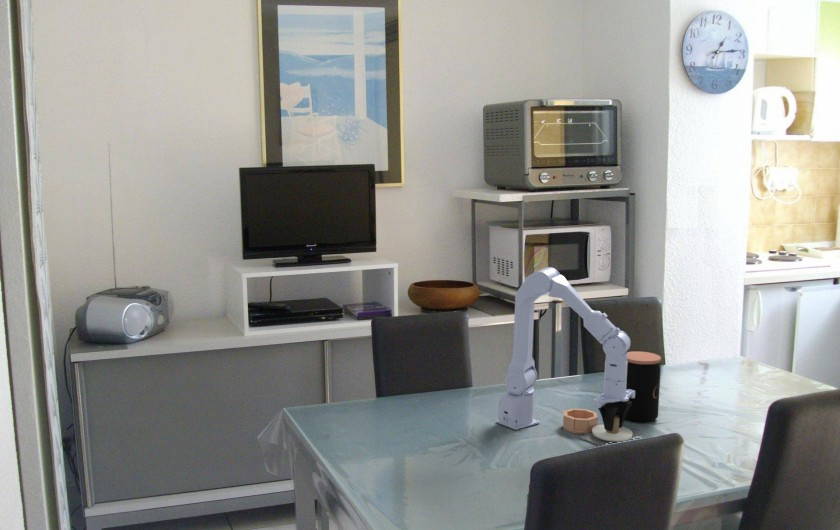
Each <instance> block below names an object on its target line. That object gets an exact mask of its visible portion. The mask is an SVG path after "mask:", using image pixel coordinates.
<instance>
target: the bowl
mask: <svg viewBox="0 0 840 530" xmlns="http://www.w3.org/2000/svg"><path fill="white" fill-rule="evenodd" d="M562 412H563V413H562V427H563V430H564V431H566V432H569V433H572V434H576V435H577V434H578V435H586V434H590V433H592V428H593V427H594V426H597V425H598V418H599V415H598V413H597V412H595V411H593V410H589V409H586V408H570V409H569V408H568V409H566V410H564V411H562Z"/></svg>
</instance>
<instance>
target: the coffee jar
mask: <svg viewBox="0 0 840 530" xmlns="http://www.w3.org/2000/svg"><path fill="white" fill-rule="evenodd" d="M626 352H627V353H628V355H627V357H628V358H627V362H628V365H627V384H626V390H628V389H631V390H634V391H635V398H629V400H628V401H631V402H632V405H631V407H630V408H629V410H628V412H627V414H626V416H625V420H624V421H626V420H627V422H629V421H630V423H633V422H636V424H651V423H654V422H655V421H656V419H658V417H659V408H660V407H659V405H660V387H661V369H662V368H661V367H662V366H661V364H660V363H661V361H662V357H661V355H658V354H656V353H653V352H649V351H648V352H647V351H639V350H638V351H635V350H634V351H626Z"/></svg>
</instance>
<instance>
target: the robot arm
mask: <svg viewBox="0 0 840 530" xmlns="http://www.w3.org/2000/svg"><path fill="white" fill-rule="evenodd" d="M547 293H548V295H547V296H548V297H550V298H556V299H561V300H562V301H563V302H564V303H566V305H568V306H569V307H570V308H571V309H572V310H573V311H574V312H575V313H577V314H578V316H580V317H581V318H582V320H583V327H584V328H585V329H586V330H587V331H588V332H589V333H590V334H591V336H593V337H594V338H595V339H596V340H597V342H599V344H600V345H602V350H603V352H604V354H605V361H604V377H603V378H604V379H603V392H602V393H601V394H600V395H598V396H597V397H595V398H593V399H592V400H593V401H592V402H593V404H592V406H593V407H595V408H597V409H598V411H599V413H600V416H601V420H602V423H603V424H604V428H605V430H608V431H612V430H613V425H614V418H615V415H616V416H619V417H620V418H619V428H622V427H623V424H624V422H625V420H624V419H625V416H626V414H627V412H628V410H629V408H630V407H631V405H632V402H631V401H628V400H629V398H635V391H634V390H631V389H628V390H626V384H627V365H628V362H627V358H628V357H627V355H628V353H627V352H628V350H629V349H630V347H631V338H630V337H629V335H628V333H627V332H625V331H623V330H621V329H620V328H619V327H616V325H614V324H613V322H611V321H610V319H608V318H607V317H608V314H607V313H606V312H603V313H602V312H601V311H600V310H593V309H592V308H591V306H590V305H588V303H587V302H586V301H585V300H584V299H583V298H582V296H581V295H580V294H579V293H578V292H577V291H576V289H575V288H574V287H573V286H572V284H570V283H569V281H568V280H567V279H566V277H565V276H564V275H562V274H560V272H559V271H558V270H557V269H556V268H554V267H551V266H546V267H543V268H541V270H539V271H538V270H537V271H534V272H532V273H531V274H529V275H527V276H526V277H525V279H524V281H523V283H522V284H521V285H520V287H519V288H518V290H517V291H516V292H515V299H514V323H513V325H514V326H513V345H512V359H511V360H510V364H509V365H508V372H507V374H506V375H505V378H504V384H505V385H504V386H505V388H506V389H507V391H506V393H505V394H503V395H502V396H500V398H499V400H498V418H497V419H496V423H498V424H500V425H502V426H505V427H508V428H510V429H513V430H514V431H515V430H520V429H524V428H527V427H531V426H534V425H537V424H540V420H538V419H535V418H534V406H535V405H534V404H535V403H534V401H535V400H534V399H535V389H534V385H535V383H536V382H537V380H538V372H537V370H536V368H535V367H536V366H535V363H536V361H535V360H534V358H533V343H534V342H533V341H534V324H535V323H534V321H535V320H534V319H535V302H536V301H537V300H538V299H539V298H540V297H542V296H544V295H545V294H547Z"/></svg>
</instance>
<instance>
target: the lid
mask: <svg viewBox="0 0 840 530" xmlns="http://www.w3.org/2000/svg"><path fill="white" fill-rule="evenodd" d="M619 418H620V417H619V416H616V415H615V418H614V425H613V430H612V431H608V430H605V428H604V423H603V424H597V426H594V427H593V428H592V434H593V435H594V436H595V437H597V438H599V439H602V440H606V441H612V442H623V441H628V440H630V439H631V438H632V433H633V431H632V430H631V429H629V428H628V427H625V426H622V428H619Z"/></svg>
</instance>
